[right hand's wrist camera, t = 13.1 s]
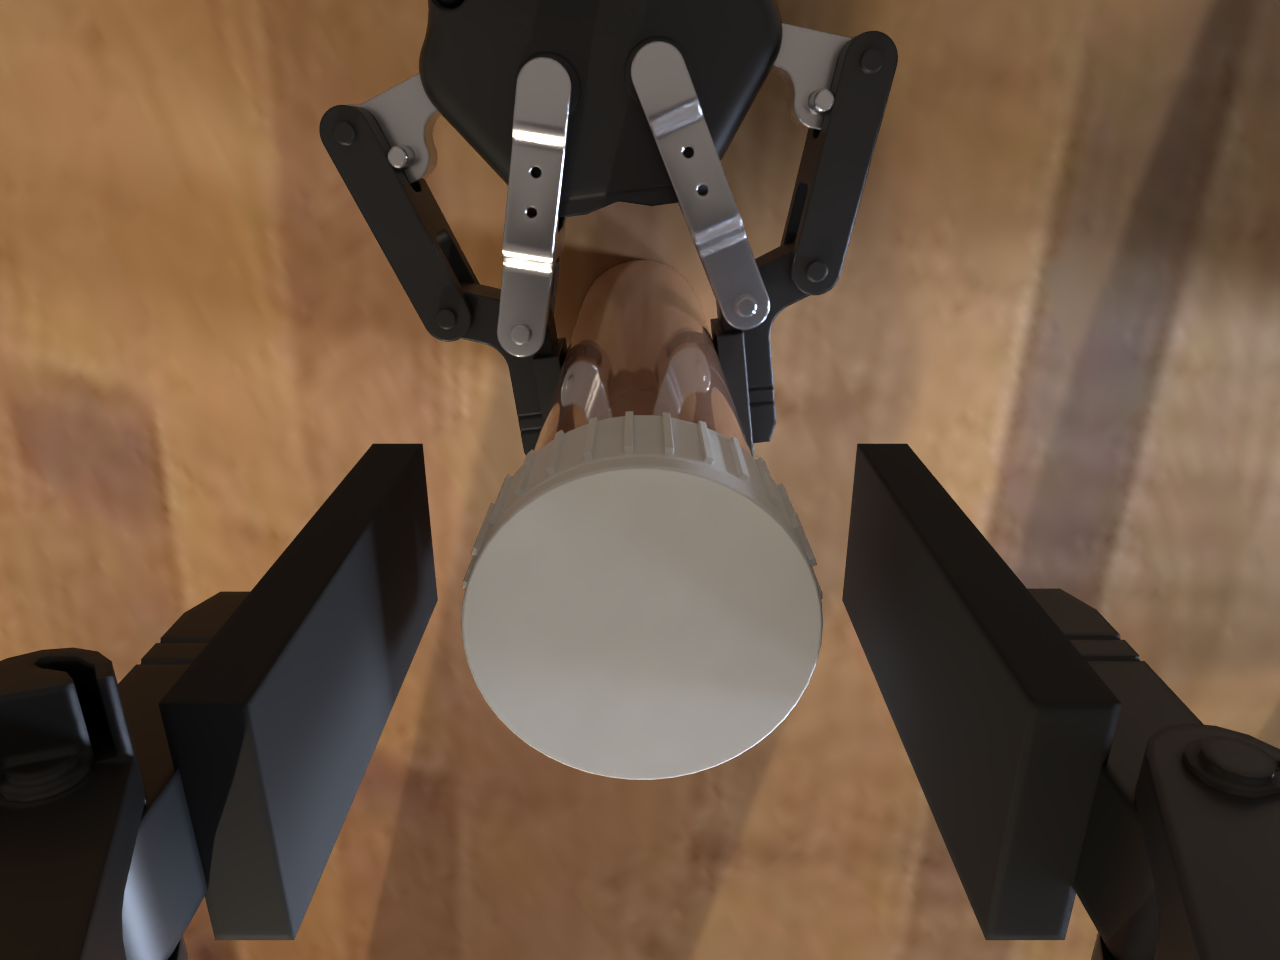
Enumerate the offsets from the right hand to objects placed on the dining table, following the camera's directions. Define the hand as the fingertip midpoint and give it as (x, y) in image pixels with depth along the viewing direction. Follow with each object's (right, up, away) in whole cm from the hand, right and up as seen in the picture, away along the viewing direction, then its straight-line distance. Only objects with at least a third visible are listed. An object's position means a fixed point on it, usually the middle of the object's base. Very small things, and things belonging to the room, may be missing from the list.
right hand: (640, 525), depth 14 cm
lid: (0, -1, -2) cm, 3 cm away
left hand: (0, +1, +11) cm, 11 cm away
